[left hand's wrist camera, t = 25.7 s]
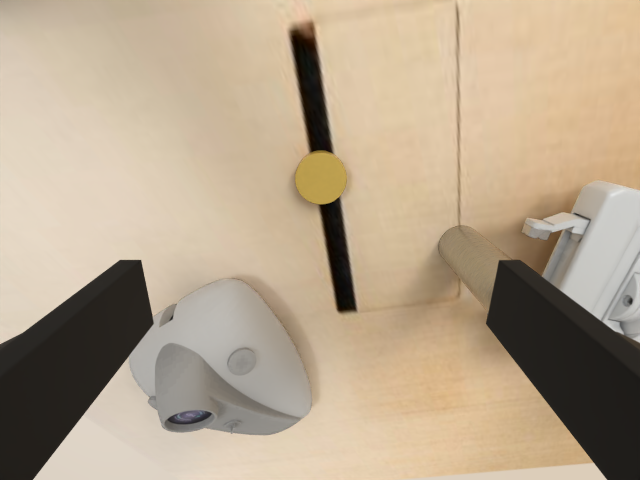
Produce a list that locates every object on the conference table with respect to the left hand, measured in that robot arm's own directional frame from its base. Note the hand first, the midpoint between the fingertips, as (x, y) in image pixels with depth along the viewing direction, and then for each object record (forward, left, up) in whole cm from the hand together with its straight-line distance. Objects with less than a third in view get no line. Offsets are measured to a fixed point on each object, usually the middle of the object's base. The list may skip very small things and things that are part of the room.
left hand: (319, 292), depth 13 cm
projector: (+2, -25, -26) cm, 36 cm away
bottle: (+18, 0, -26) cm, 32 cm away
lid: (0, 0, -24) cm, 24 cm away
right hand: (+21, +1, -19) cm, 28 cm away
